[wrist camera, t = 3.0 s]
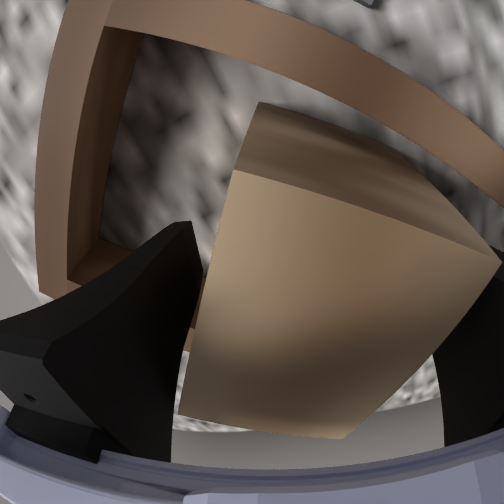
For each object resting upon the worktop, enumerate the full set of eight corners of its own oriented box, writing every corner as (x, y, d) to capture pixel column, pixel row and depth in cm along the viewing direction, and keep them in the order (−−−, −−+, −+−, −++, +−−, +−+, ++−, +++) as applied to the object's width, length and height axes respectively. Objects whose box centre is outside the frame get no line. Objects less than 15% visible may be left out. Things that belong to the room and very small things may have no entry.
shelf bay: (496, 157, 10) (539, 187, 7) (355, 349, 16) (363, 395, 14) (122, -13, 7) (78, -27, 5) (70, 252, 14) (39, 291, 11)
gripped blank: (393, 148, 10) (502, 262, 5) (324, 293, 14) (342, 439, 8) (258, 101, 10) (233, 169, 4) (214, 265, 14) (177, 414, 8)
